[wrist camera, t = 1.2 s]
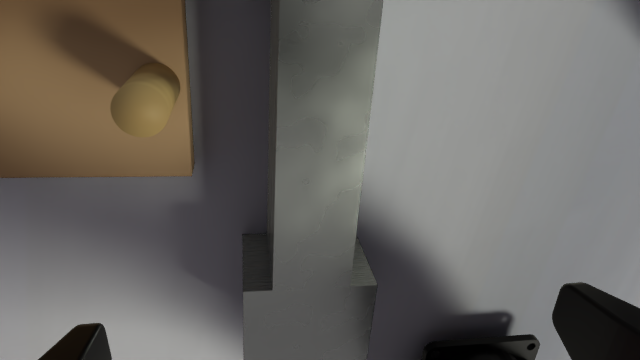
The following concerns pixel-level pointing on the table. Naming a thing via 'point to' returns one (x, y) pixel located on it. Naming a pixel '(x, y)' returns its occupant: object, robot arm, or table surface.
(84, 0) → the peg rack
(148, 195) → the table surface
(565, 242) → the table surface
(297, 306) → the grey long bar
